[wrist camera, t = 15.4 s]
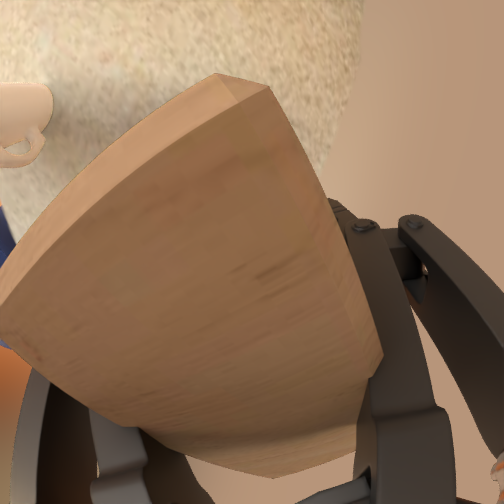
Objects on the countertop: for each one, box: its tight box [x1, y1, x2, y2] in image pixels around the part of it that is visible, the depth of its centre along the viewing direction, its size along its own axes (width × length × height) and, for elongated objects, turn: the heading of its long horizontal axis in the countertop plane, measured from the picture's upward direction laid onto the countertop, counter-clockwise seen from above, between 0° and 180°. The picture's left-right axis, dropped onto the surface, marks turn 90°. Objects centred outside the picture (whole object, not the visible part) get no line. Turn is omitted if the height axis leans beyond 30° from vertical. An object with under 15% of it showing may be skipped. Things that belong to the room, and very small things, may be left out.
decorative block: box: [0, 73, 384, 479], centre depth 13 cm, size 11×6×20 cm, turn 28°
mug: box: [0, 83, 53, 168], centre depth 15 cm, size 10×7×12 cm, turn 35°
